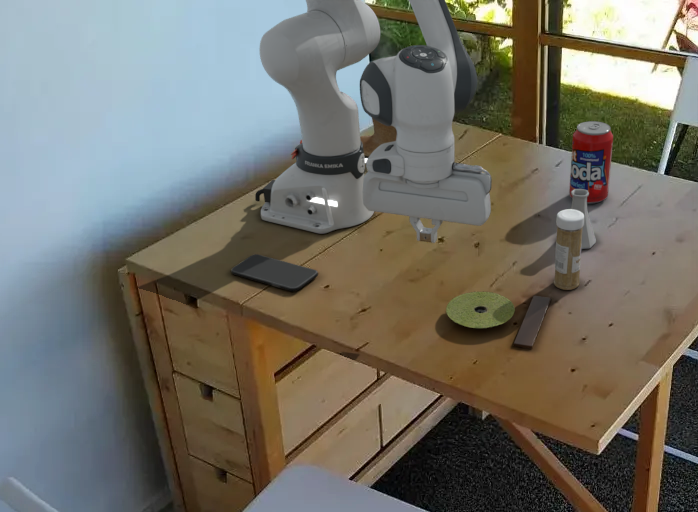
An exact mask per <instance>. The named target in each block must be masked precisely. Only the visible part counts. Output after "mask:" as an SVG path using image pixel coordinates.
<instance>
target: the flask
mask: <svg viewBox="0 0 698 512" xmlns="http://www.w3.org/2000/svg"><path fill="white" fill-rule="evenodd" d="M571 194H572V196H573V198H572V197H571V198H572V199H571V205H570V209H574V210H578V211H580V212H582V213H583V214H584V226H583V228H582V240H581V244H582V245H581V250H583V249H591V248H592V247H593V246H594V245H595V244H596V242H597V240H596V235H595V233H594V229H593V225H592V223H591V219H590V216H589V212H588V204H587V196H588V195H589V192H588V190H585V189H574V190H573V191H572V192H571Z"/></svg>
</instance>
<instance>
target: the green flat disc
mask: <svg viewBox="0 0 698 512" xmlns="http://www.w3.org/2000/svg"><path fill="white" fill-rule="evenodd" d="M515 311H516V308H515V305H514V303H513V301H512V300H510V299H509V298H507V297H506V296H504V295H501V294H499V293H496V292H492V291H471V292H466V293H461V294H460V295H457V296H455V297H453V298H452V299H451V300H450V301H449V302H448V303H447V305H446V308H445V313H446V315H447V316H448V317H449V319H450V320H452V322H454V323H456V324H458V325H460V326H462V327H463V326H464V327H467V328H473V329H487V328H493V327H498V326H499V325H503V324H505V323H507V322H508V321H509V320H511V319H512V317H513V316H514V314H515Z"/></svg>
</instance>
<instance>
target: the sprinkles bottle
mask: <svg viewBox="0 0 698 512" xmlns="http://www.w3.org/2000/svg"><path fill="white" fill-rule="evenodd" d="M555 220H556V223H555V224H556V240H555V257H554V278H553V285H554V286H555V287H556V288H558V289H560V290H562V291H563V290H564V291H570V290H574V289H576V288H578V287H579V286H580V283H581V282H580V271H581V270H580V269H581V260H582V259H581V258H582V249H581V245H582V244H581V240H582V228H583V226H584V214H583V213H582V212H580V211H578V210H574V209H571V208H568V209H567V208H565V209H562V210H560V211H558V212H557V214H556V219H555Z"/></svg>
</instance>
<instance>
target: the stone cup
mask: <svg viewBox="0 0 698 512" xmlns="http://www.w3.org/2000/svg"><path fill="white" fill-rule="evenodd" d="M371 121H372V125H373V134H372V135H371V134H370V135H368V134H367V135H360V140H361V141H362V143H363V149H364V156H365V157H367V158H368V157H369V156H370V155H371V153H372V152H373V151H374V150H375V149H376V148H377V147H379V146H380V145H381V144H384V143H389V142H394V141H396V137H397V130H396V128H395V127H394V126H386V125H384V124H382V123H380V122H378V121H376V120H375V119H373V118H372V117H371Z"/></svg>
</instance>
